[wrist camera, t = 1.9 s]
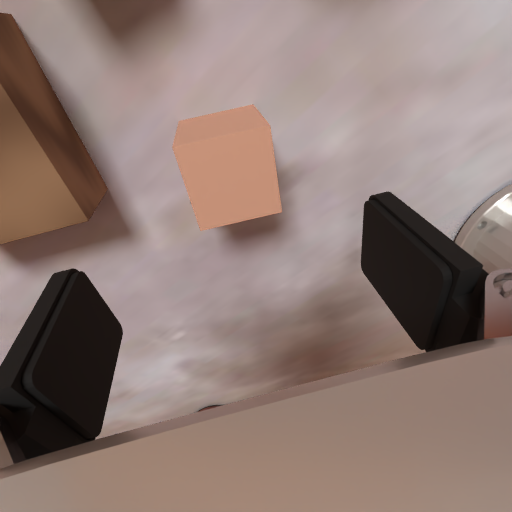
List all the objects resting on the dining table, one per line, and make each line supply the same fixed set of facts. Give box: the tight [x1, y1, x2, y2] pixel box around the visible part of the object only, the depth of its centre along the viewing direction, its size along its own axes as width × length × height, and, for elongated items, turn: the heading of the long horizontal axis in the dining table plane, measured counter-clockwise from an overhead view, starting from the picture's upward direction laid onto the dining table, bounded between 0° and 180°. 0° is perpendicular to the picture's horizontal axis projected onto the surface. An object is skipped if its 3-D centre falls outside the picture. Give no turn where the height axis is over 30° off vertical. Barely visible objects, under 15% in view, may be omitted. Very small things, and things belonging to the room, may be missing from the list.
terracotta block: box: [172, 105, 282, 231], centre depth 19 cm, size 5×5×6 cm
